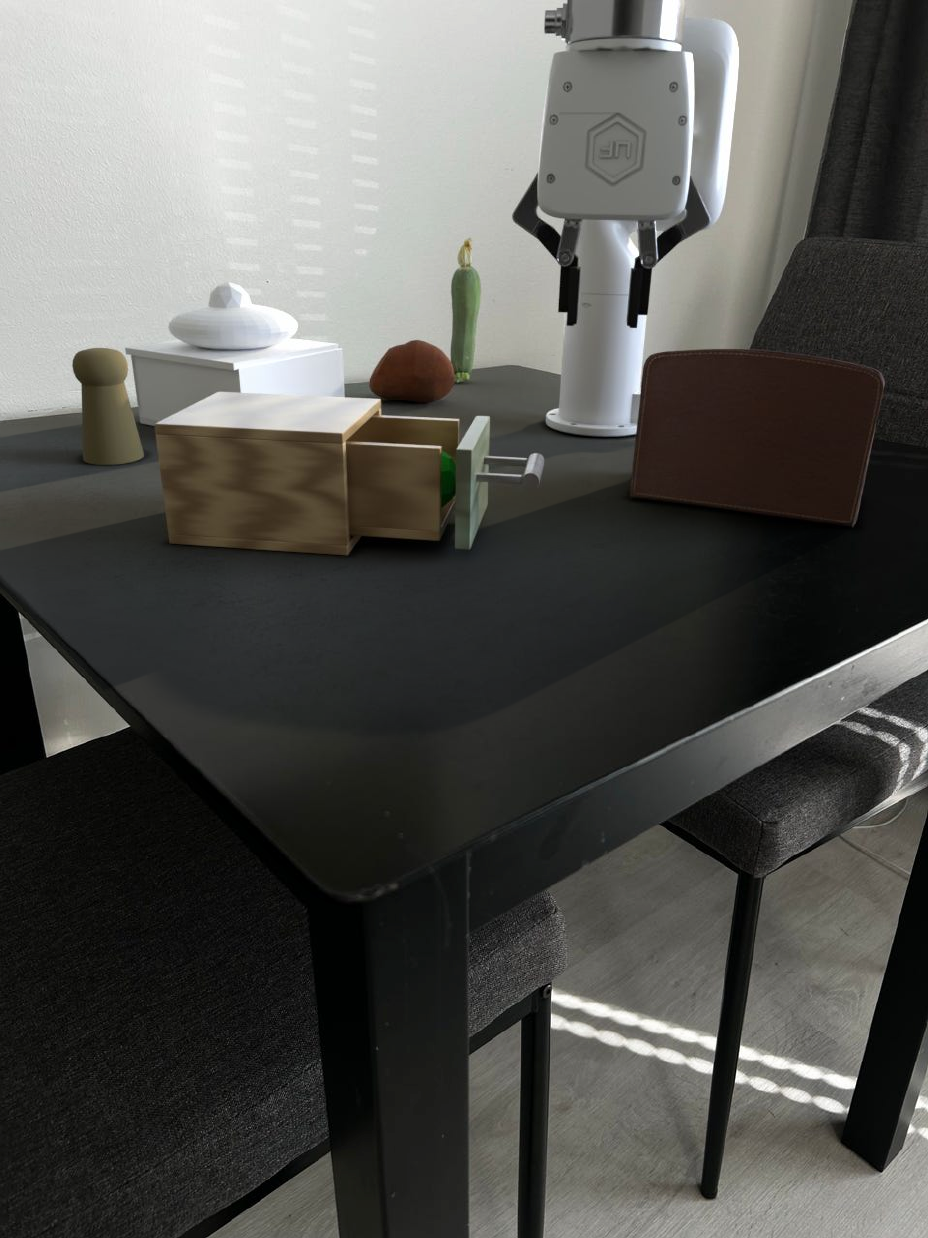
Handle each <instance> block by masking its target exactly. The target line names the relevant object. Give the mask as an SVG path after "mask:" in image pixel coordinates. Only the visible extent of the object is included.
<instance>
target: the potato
mask: <svg viewBox="0 0 928 1238" xmlns="http://www.w3.org/2000/svg"><path fill="white" fill-rule="evenodd" d="M368 385H369V389H370V392H372V393H373V394H374V395H375V396H377V397H379V398H380V399H382V400H383V399H384V400H391V401H399V400H400V401H408V402H409V401H410V402H415V403H433V402H437V401H439V400H441V399H442V398H444V397H446V396H448V395H449V393H450V392H452V389H453V387H454V385H455V375H454V370H453V365H452V363H451V359H450V358H449V357H448V356H447V355H446V354H445V352H444V351H443V350H442V349H441V348H439V347H438V346H436V345H434V344H432V343H429V342H426V341H424V340H420V339H413V340H409V341H408V342H406V343H403V344H397V345H395V346H392V347H390V348H388V349H387V351H386V352H385V353H384V354H383V355H382V357H381V358H380V360H379V361H378V363H377V364H376V366H375V367H374V369H373V371H372V374H371V375H370V378H369V384H368Z"/></svg>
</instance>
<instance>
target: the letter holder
mask: <svg viewBox="0 0 928 1238" xmlns="http://www.w3.org/2000/svg"><path fill="white" fill-rule="evenodd" d="M640 386H641V393H640V404H639V413H638V422H637V431H636V434H635V442H634V451H633V460H632V469H631V471H632V472H631V480H630V487H629V496H630V497H631V499H635V500H645V501H646V500H647V501H653V502H663V503H670V504H671V503H672V504H679V505H687V506H694V507H701V508H708V509H709V508H710V509H716V510H717V509H718V510H725V511H733V512H740V513H743V514H745V513H746V514H752V515H760V516H766V517H767V516H768V517H776V518H783V519H790V520H795V521H796V520H797V521H803V522H804V521H805V522H811V523H819V524H829V525H834V526H835V525H836V526H842V527H848V528H854V525H855V524H856V522H857V520H858V517H859V510H860V507H861V501H862V495H863V492H864V491H863V490H864V487H865V482H866V476H867V473H868V472H867V471H868V467H869V461H870V458H871V457H870V456H871V450H872V445H873V442H874V436H875V432H876V431H875V430H876V428H877V427H876V426H877V422H878V418H879V417H878V416H879V413H880V409H881V405H882V399H883V394H884V389H885V378H884V376H883V374H882V372H881V371H879V370H878V369H876V368H873V367H870V366H866V365H862V364H857V363H853V362H848V361H843V360H838V359H834V358H829V357H828V358H827V357H821V356H814V355H809V354H808V355H807V354H802V353H801V354H800V353H793V352H784V351H776V350H767V349H766V350H764V349H753V348H752V349H751V348H749V349H748V348H700V349H684V350H667V351H666V350H665V351H660V352H656V353H652V354H650V355H649V356H648V357H646V359H645V361H644V363H643V365H642V373H641V381H640Z"/></svg>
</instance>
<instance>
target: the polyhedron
mask: <svg viewBox="0 0 928 1238" xmlns="http://www.w3.org/2000/svg"><path fill="white" fill-rule="evenodd" d="M455 494H456V464H455V462H454V460H453V458H452V457H451V456H449V455H448V454H447V453H445V452H444V451H442V457H441V507H444V506H445V505H446V504H447V503H448V502H449V501H451V500H452V498H453V497H454V495H455Z"/></svg>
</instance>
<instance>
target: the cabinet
mask: <svg viewBox="0 0 928 1238" xmlns="http://www.w3.org/2000/svg"><path fill="white" fill-rule="evenodd" d="M381 399H382V398H370V397H369V398H368V397H367V398H366V397H346V396H345V397H325V396H303V395H281V394H259V393H238V392H217V393H215V394H213V395H211V396H209V397H207V398H205V399H203V400H201V401H199V402H197V403H195V404H193V405H191V406H189V407H187V408H185V409H183V410H181V411H179V412H177V413H175V414H173V415H171V416H169V417H167V418H165V419H163V420H161V421H159V422H157V423H155V424H154V426H153V427H154V432H155V440H156V449H157V457H158V464H159V465H158V466H159V472H160V480H161V488H162V494H163V503H164V510H165V511H164V512H165V519H166V526H167V533H168V542H169V544H171V545H186V546H187V545H188V546H201V547H215V548H217V547H218V548H232V549H245V550H247V549H248V550H260V551H275V552H291V553H305V554H306V553H307V554H321V555H333V556H334V555H335V556H349V554H350V552H351V551H352V550H353V549H354V547H355V546H356V544H357V543H358V542H359V540H360V539H361V537H362V536H355V535H349V513H348V488H347V463H346V442H345V441H346V440H347V439H348V438H349V437H351V436H352V435H353V434H354V433H355V432H356V431H357V430H358V429H359V428H360V427H361V426H362V425H363V424H364V423H365V422H367V421H368V420H369V419H370V418H371V417H372V416H373V415H382V400H381Z"/></svg>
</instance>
